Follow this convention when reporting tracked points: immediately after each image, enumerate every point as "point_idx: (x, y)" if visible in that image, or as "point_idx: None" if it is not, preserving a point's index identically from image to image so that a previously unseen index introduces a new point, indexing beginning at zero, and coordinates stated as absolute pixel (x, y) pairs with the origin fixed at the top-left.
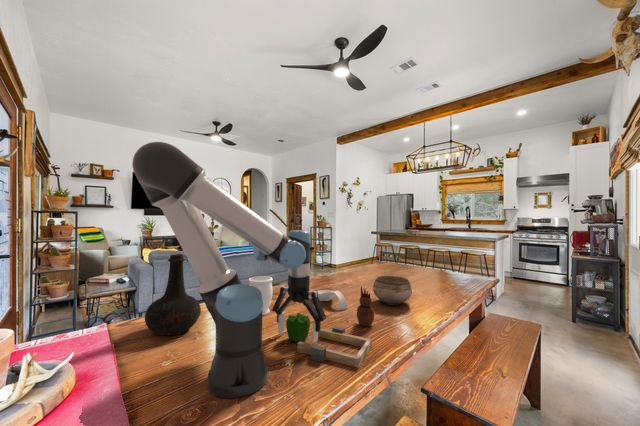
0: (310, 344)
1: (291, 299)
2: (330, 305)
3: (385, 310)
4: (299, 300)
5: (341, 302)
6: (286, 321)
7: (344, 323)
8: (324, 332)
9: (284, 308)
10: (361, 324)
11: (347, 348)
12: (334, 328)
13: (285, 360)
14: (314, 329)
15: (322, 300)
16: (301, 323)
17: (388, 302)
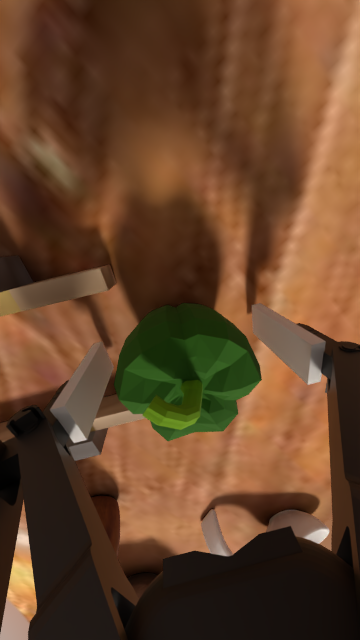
0: (49, 301)
1: (348, 547)
2: (249, 510)
3: (125, 557)
4: (187, 623)
5: (216, 541)
6: (245, 337)
7: (147, 477)
8: (115, 409)
9: (331, 401)
10: (99, 498)
11: (10, 393)
12: (83, 443)
13: (79, 162)
14: (71, 378)
15: (282, 516)
16: (127, 360)
17: (133, 585)
